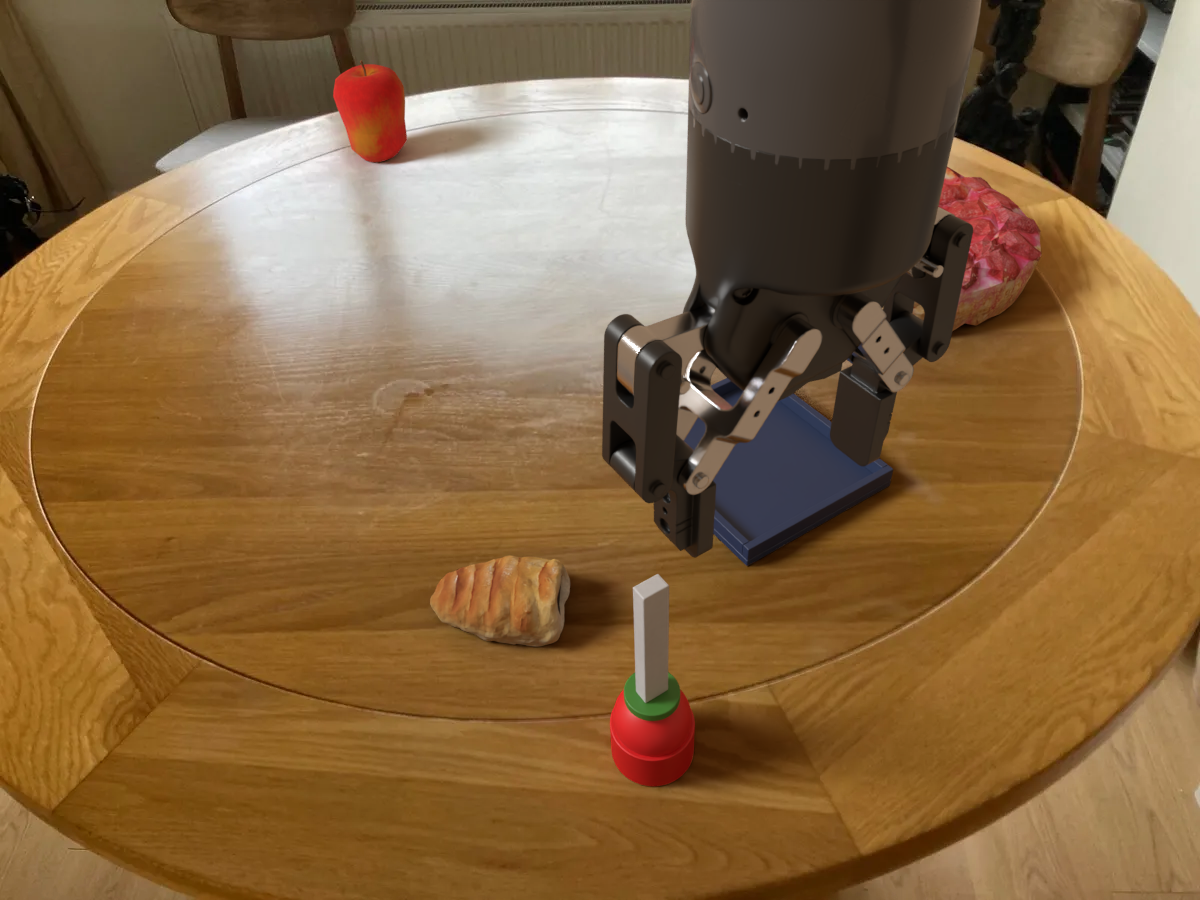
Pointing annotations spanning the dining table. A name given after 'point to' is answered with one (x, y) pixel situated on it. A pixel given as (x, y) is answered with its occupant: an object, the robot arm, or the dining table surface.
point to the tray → (784, 478)
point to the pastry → (506, 600)
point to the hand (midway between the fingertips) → (774, 494)
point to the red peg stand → (652, 699)
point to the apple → (372, 110)
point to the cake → (989, 248)
